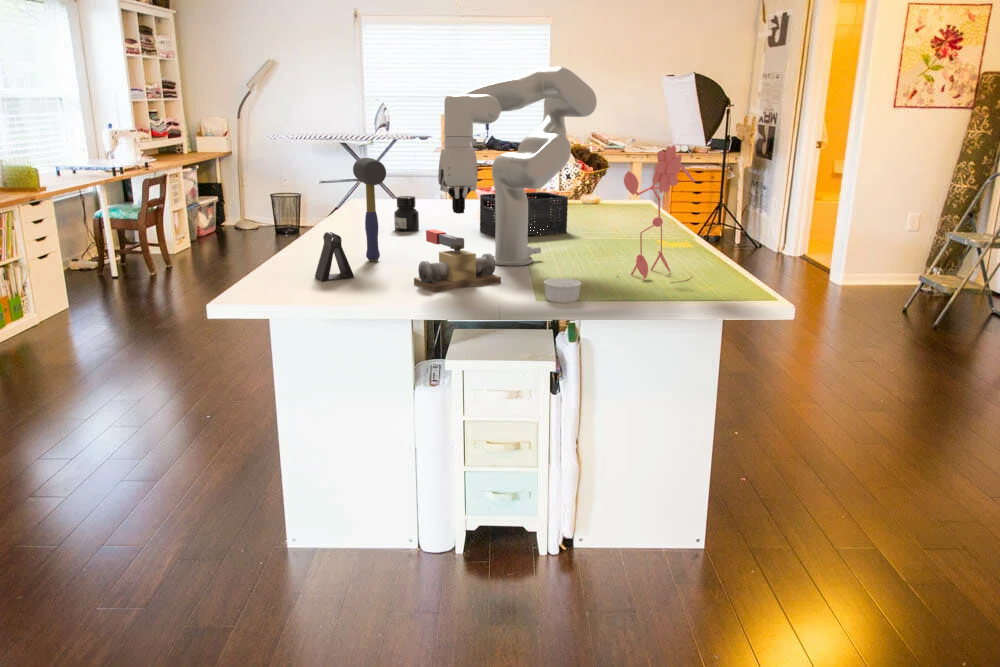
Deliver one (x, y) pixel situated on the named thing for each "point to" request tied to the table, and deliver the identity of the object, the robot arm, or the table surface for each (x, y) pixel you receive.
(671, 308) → the table surface
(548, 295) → the ramekin
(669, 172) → the figurine
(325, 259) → the phone stand
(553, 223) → the storage bin
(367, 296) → the table surface
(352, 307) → the table surface
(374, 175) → the rubber mallet
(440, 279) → the valve manifold
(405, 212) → the ink bottle
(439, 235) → the lever
